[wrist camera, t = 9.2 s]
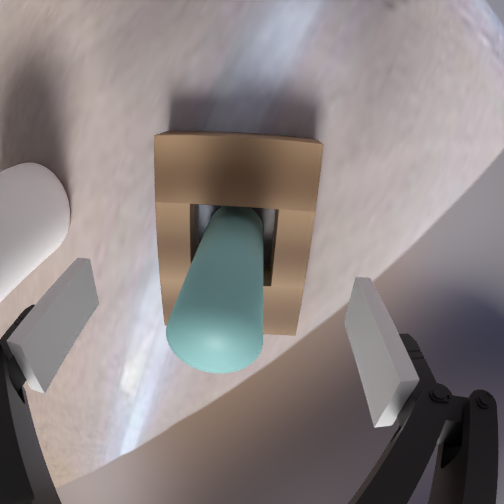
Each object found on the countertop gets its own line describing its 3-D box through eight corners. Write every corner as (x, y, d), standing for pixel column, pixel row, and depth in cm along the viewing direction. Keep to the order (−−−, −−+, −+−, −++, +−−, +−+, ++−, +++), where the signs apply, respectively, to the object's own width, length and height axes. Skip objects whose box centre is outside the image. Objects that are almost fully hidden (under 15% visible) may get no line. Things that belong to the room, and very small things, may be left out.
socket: (168, 130, 21) (154, 135, 18) (315, 139, 21) (323, 144, 18) (173, 303, 27) (164, 325, 24) (292, 312, 27) (295, 335, 24)
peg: (208, 201, 23) (161, 295, 12) (265, 205, 23) (267, 303, 12) (208, 252, 25) (170, 368, 14) (261, 256, 25) (258, 376, 14)
